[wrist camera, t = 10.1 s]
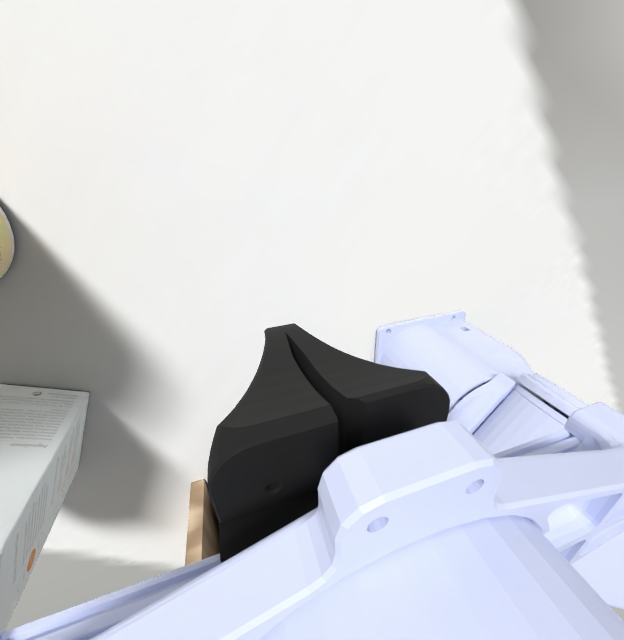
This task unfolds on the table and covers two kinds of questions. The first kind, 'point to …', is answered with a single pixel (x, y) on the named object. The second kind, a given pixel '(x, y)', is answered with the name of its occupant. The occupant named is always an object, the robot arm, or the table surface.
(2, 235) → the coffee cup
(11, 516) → the small box
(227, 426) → the robot arm
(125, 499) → the table surface
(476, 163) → the table surface
